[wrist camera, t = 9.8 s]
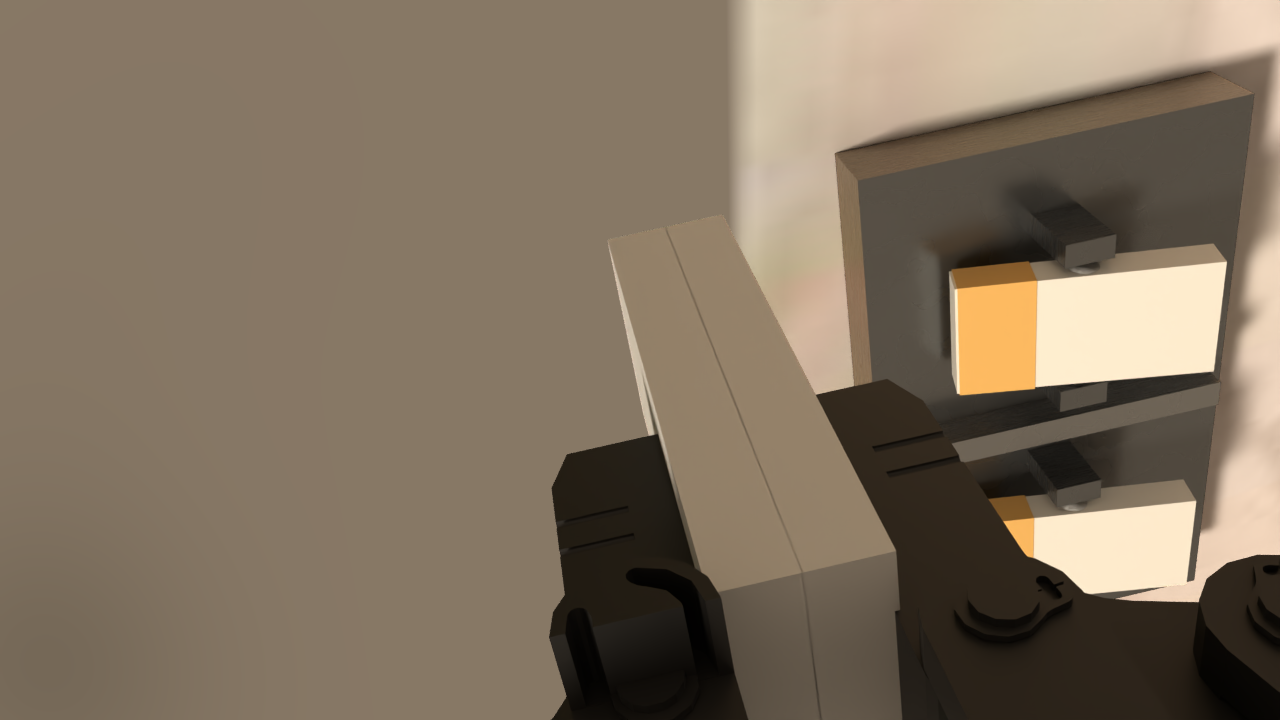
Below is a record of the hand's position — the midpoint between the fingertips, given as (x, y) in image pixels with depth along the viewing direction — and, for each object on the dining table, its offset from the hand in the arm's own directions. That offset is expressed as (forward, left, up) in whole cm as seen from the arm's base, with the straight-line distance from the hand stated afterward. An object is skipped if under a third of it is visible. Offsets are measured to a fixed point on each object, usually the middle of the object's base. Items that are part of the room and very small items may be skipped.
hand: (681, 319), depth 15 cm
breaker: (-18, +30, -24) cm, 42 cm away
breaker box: (-18, +24, -29) cm, 42 cm away
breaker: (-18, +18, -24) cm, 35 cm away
